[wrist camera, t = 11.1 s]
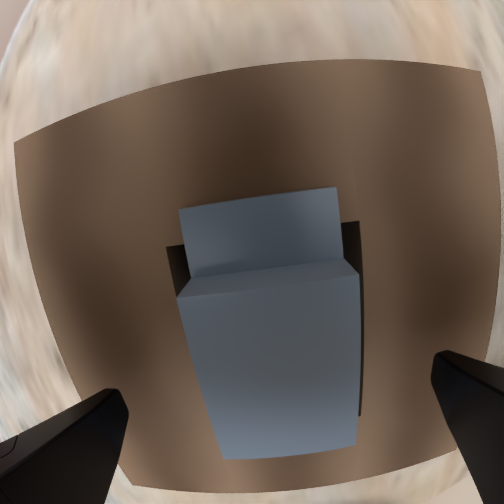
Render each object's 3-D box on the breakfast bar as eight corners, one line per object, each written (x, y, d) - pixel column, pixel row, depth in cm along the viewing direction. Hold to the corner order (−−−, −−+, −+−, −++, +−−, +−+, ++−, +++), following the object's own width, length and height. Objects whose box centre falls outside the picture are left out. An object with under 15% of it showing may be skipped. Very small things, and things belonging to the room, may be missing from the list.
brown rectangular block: (438, 90, 11) (480, 71, 7) (433, 413, 15) (455, 449, 11) (61, 146, 12) (13, 142, 9) (148, 445, 16) (132, 484, 13)
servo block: (314, 185, 12) (351, 188, 7) (330, 391, 14) (352, 476, 9) (205, 201, 12) (159, 216, 7) (244, 401, 15) (234, 488, 9)
